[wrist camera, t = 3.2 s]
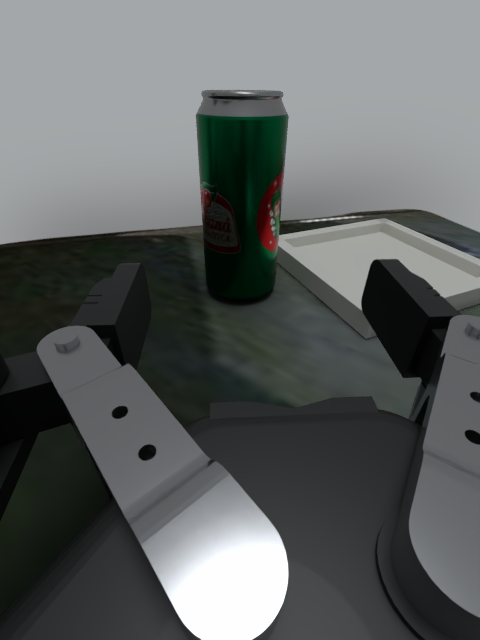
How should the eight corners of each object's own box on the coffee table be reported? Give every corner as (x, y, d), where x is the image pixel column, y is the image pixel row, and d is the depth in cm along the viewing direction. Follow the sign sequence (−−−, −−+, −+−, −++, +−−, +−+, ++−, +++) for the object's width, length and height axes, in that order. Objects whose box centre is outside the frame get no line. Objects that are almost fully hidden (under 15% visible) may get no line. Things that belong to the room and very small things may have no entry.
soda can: (195, 280, 25) (179, 89, 18) (251, 266, 27) (257, 89, 20) (226, 313, 22) (222, 92, 15) (288, 293, 24) (310, 91, 17)
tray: (365, 339, 20) (371, 318, 19) (266, 253, 29) (267, 237, 28) (508, 294, 24) (518, 276, 23) (380, 232, 33) (384, 218, 33)
